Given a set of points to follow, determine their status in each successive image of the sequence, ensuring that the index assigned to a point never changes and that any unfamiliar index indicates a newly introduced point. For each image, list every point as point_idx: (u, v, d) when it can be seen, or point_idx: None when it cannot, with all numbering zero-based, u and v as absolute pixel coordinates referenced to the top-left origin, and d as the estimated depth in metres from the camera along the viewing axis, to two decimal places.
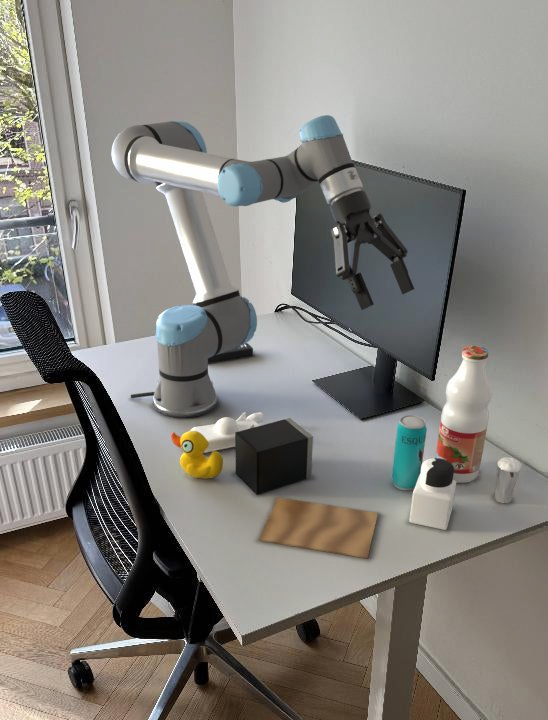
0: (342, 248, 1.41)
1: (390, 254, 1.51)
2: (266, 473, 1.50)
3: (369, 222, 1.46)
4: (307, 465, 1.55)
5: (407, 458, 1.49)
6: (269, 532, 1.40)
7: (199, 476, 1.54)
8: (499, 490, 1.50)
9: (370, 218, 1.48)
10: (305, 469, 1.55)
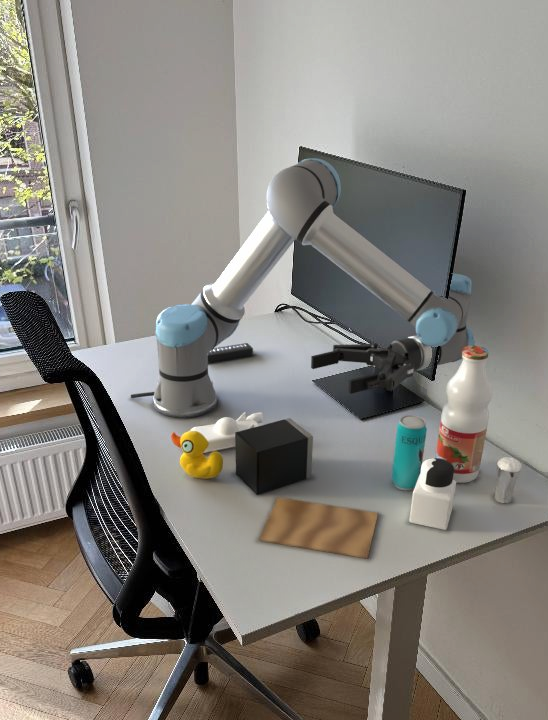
0: (401, 381, 1.53)
1: (346, 356, 1.61)
2: (266, 473, 1.50)
3: None
4: (307, 465, 1.55)
5: (407, 458, 1.49)
6: (269, 532, 1.40)
7: (199, 476, 1.54)
8: (499, 490, 1.50)
9: None
10: (305, 469, 1.55)
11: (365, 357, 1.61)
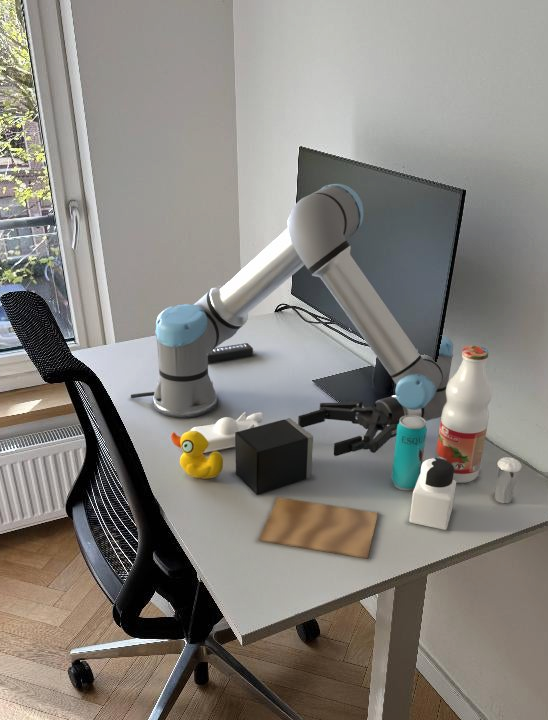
0: (384, 442, 1.59)
1: (332, 415, 1.67)
2: (266, 473, 1.50)
3: None
4: (307, 465, 1.55)
5: (407, 458, 1.49)
6: (269, 532, 1.40)
7: (199, 476, 1.54)
8: (499, 490, 1.50)
9: None
10: (305, 469, 1.55)
11: (350, 416, 1.66)
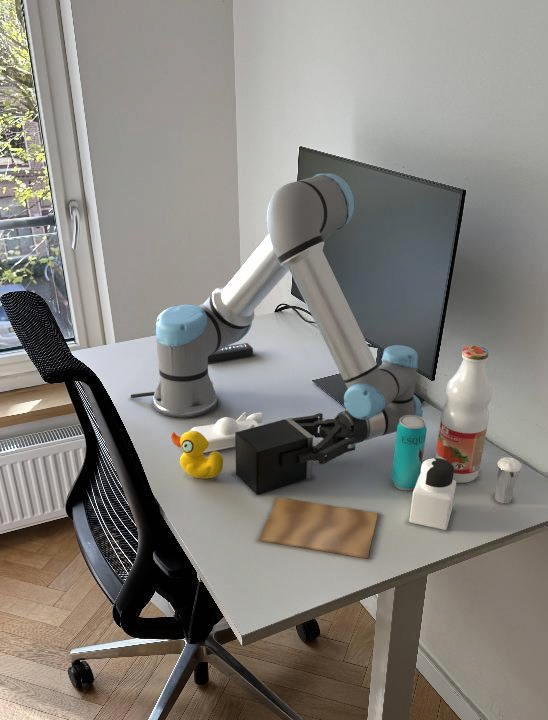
0: (338, 455, 1.54)
1: None
2: (266, 473, 1.50)
3: None
4: (307, 465, 1.55)
5: (407, 458, 1.49)
6: (269, 532, 1.40)
7: (199, 476, 1.54)
8: (499, 490, 1.50)
9: None
10: (305, 469, 1.55)
11: (313, 430, 1.61)
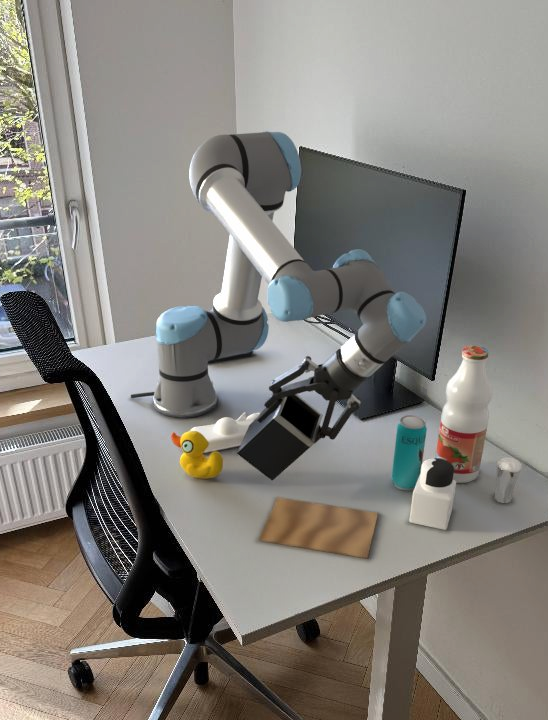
0: (287, 375, 1.40)
1: None
2: (248, 434, 1.49)
3: (335, 392, 1.39)
4: (277, 408, 1.42)
5: (407, 458, 1.49)
6: (269, 532, 1.40)
7: (199, 476, 1.54)
8: (499, 490, 1.50)
9: (346, 393, 1.39)
10: (275, 412, 1.42)
11: None
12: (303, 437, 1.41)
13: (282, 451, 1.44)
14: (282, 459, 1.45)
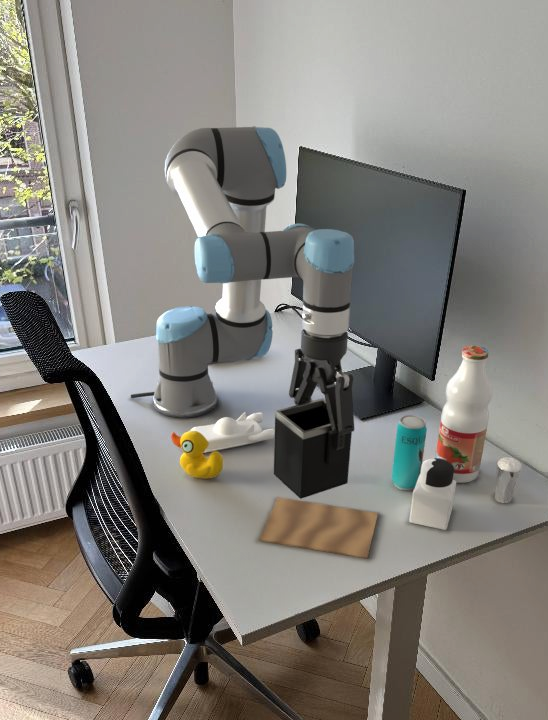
0: None
1: None
2: None
3: (316, 369, 1.23)
4: None
5: (407, 458, 1.49)
6: (269, 532, 1.40)
7: (199, 476, 1.54)
8: (499, 490, 1.50)
9: (328, 368, 1.22)
10: None
11: None
12: (295, 428, 1.25)
13: (292, 455, 1.28)
14: (295, 465, 1.28)
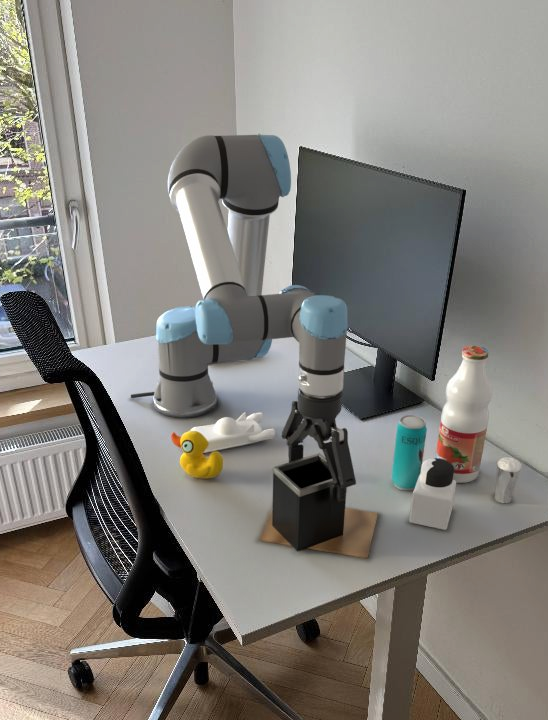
0: None
1: None
2: None
3: (312, 426, 1.28)
4: None
5: (407, 458, 1.49)
6: (269, 532, 1.40)
7: (199, 476, 1.54)
8: (499, 490, 1.50)
9: (323, 426, 1.27)
10: None
11: None
12: (292, 485, 1.30)
13: (289, 510, 1.34)
14: (292, 520, 1.34)
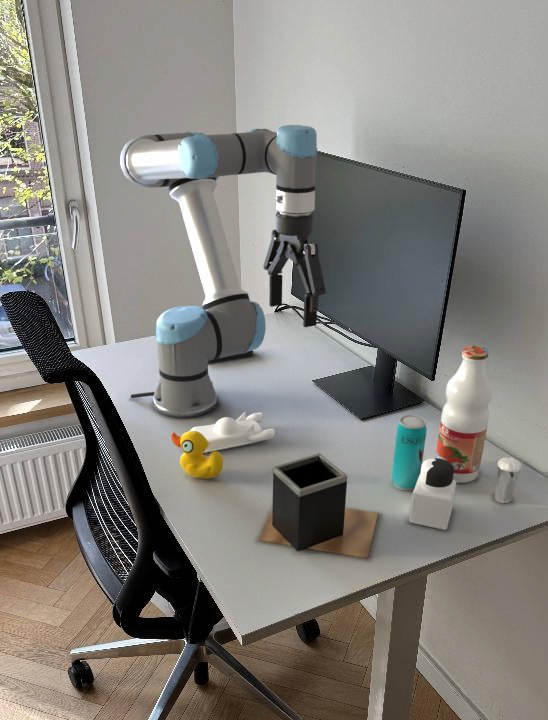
0: None
1: None
2: None
3: (288, 245, 1.49)
4: None
5: (407, 458, 1.49)
6: (269, 532, 1.40)
7: (199, 476, 1.54)
8: (499, 490, 1.50)
9: (297, 243, 1.47)
10: None
11: None
12: (292, 485, 1.30)
13: (289, 510, 1.34)
14: (292, 520, 1.34)
